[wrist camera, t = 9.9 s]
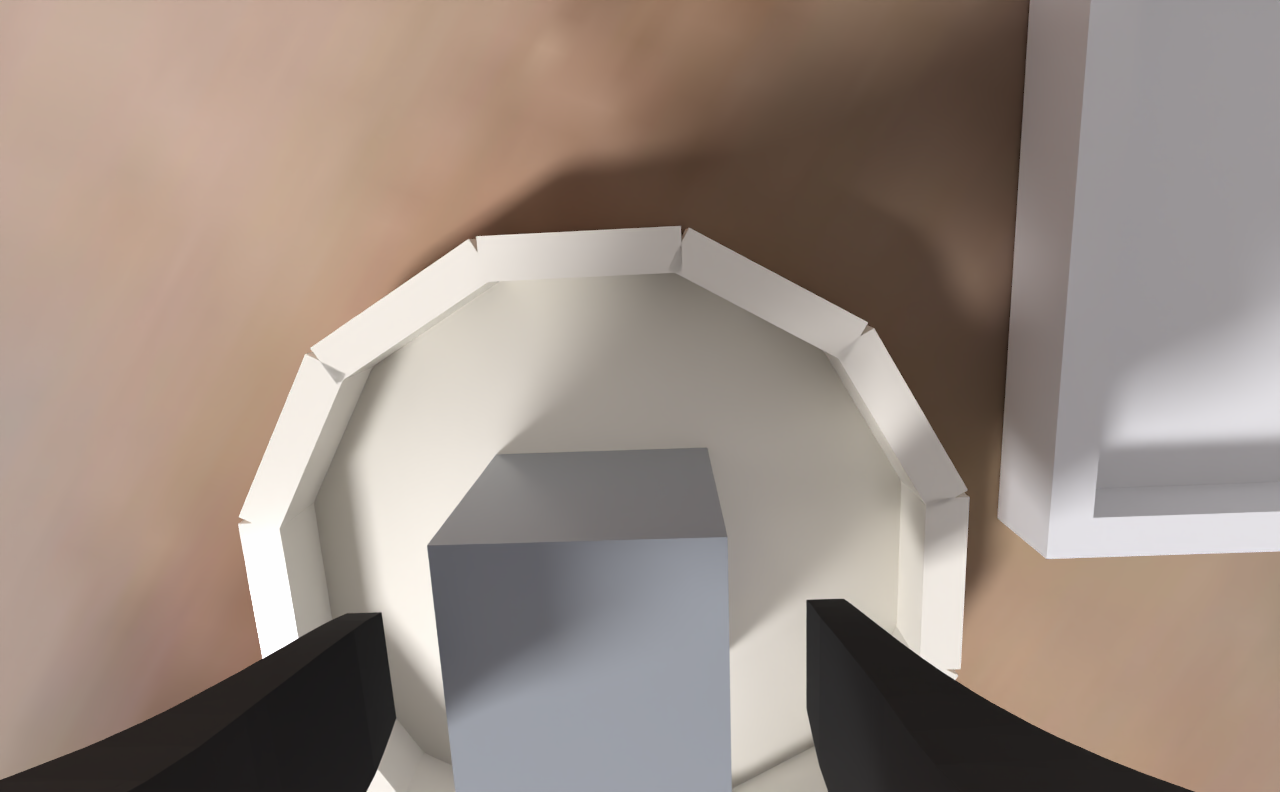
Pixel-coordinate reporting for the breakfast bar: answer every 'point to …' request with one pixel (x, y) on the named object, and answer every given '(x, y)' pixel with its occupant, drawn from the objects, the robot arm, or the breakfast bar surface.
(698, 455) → the block
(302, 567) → the bowl
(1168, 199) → the parts tray
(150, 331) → the breakfast bar surface
